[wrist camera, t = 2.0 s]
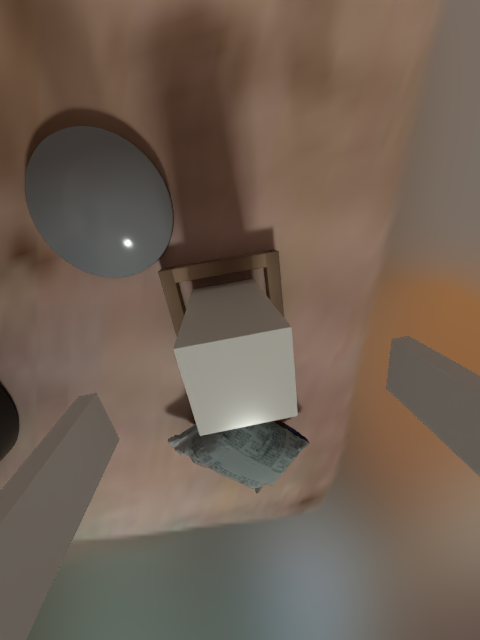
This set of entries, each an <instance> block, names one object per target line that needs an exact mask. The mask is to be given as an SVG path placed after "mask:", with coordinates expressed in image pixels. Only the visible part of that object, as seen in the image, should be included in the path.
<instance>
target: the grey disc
mask: <svg viewBox="0 0 480 640" xmlns="http://www.w3.org/2000/svg"><path fill="white" fill-rule="evenodd" d="M25 195H26V201H27V205H28V209H29V212H30V215H31V217H32V220H33V222H34V224H35V226H36V228H37V229H38V231H39V233H40V234H41V236H42V237H43V239H44V240H45V241H46V242H47V244H48V245H49V246H50V247H51V248H52V249H53V250H54V251H55V252H56V253H57V254H58V255H59V256H60V257H62V258H63V259H64V260H65V261H67V262H68V263H70V264H72V265H73V266H75V267H77V268H79V269H81V270H83V271H85V272H88V273H90V274H94V275H97V276H102V277H110V278H119V277H127V276H131V275H134V274H137V273H139V272H142V271H143V270H145V269H147V268H149V267H150V266H151V265H153V264H154V263H155V262H156V261H157V260H158V259H159V258H160V257H161V256H162V255H163V253H164V252H165V250H166V248H167V247H168V245H169V242H170V239H171V236H172V232H173V225H174V213H173V205H172V200H171V197H170V194H169V191H168V188H167V186H166V184H165V181H164V180H163V178H162V176H161V174H160V173H159V171H158V170H157V169H156V167H155V166H154V164H153V163H152V162H151V161H150V160H149V159H148V158H147V157H146V156H145V155H144V153H143V152H141V151H140V150H139V149H138V148H137V147H136V146H135V145H133V144H132V143H130V142H129V141H128V140H126V139H125V138H123V137H121V136H119V135H117V134H115V133H113V132H110V131H108V130H105V129H101V128H97V127H92V126H72V127H68V128H64V129H61V130H59V131H56V132H54V133H52V134H51V135H49V136H48V137H46V138H45V139H44V140H43V141H42V142H41V143H40V144H39V145H38V146H37V148H36V149H35V151H34V152H33V154H32V156H31V158H30V160H29V163H28V166H27V169H26V176H25Z"/></svg>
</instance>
